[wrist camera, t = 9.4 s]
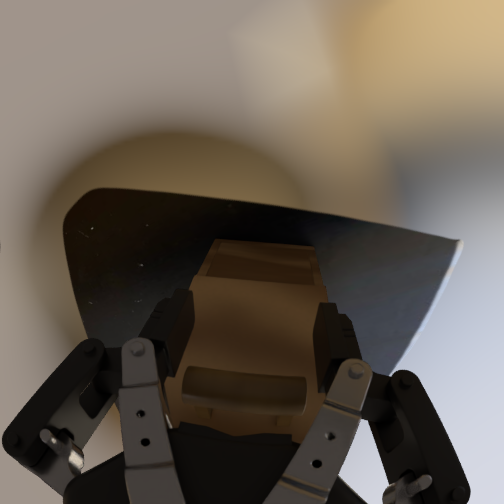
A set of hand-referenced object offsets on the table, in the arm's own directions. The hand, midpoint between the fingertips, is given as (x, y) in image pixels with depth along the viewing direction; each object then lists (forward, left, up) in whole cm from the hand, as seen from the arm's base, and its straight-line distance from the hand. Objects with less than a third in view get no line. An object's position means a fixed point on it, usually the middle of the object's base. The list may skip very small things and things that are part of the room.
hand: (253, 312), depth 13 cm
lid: (+4, -3, -2) cm, 5 cm away
